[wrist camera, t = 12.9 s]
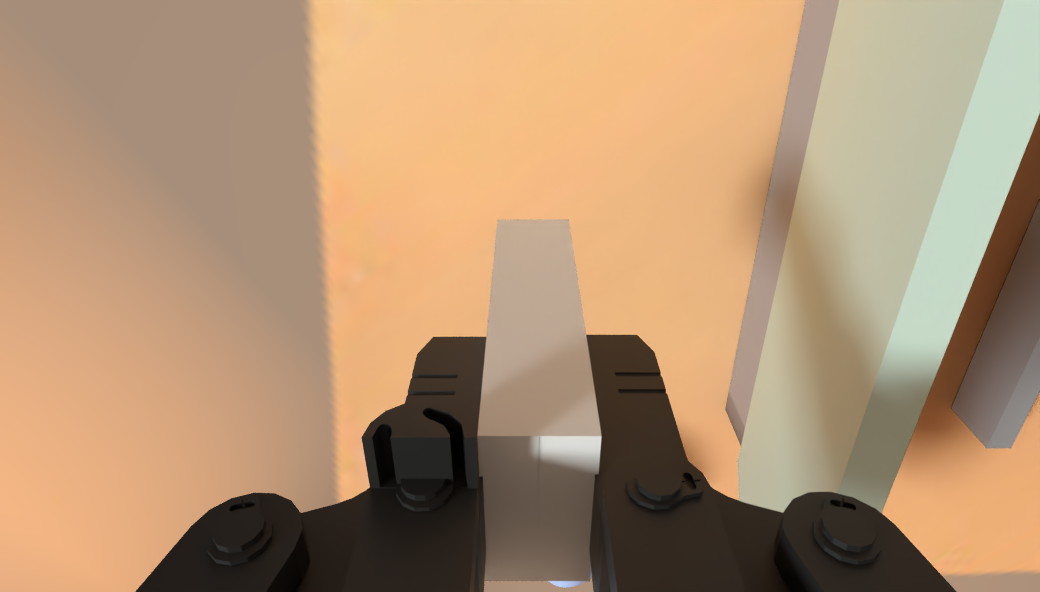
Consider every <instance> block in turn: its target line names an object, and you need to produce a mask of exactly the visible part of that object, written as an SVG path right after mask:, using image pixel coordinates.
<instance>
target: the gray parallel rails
mask: <svg viewBox="0 0 1040 592" xmlns="http://www.w3.org/2000/svg"><path fill="white" fill-rule="evenodd" d="M838 4H839V0H806V2H805V7H804V12H803V17H802V22H801V27H800V32H799V37H798V43H797V48H796V53H795V58H794V63H793V68H792V73H791V78H790V83H789V88H788V93H787V99H786V104H785V109H784V114H783V119H782V124H781V129H780V134H779V139H778V144H777V150H776V155H775V160H774V165H773V170H772V175H771V180H770V185H769V190H768V195H767V200H766V206H765V211H764V216H763V221H762V226H761V231H760V236H759V241H758V246H757V251H756V256H755V262H754V267H753V272H752V277H751V282H750V287H749V292H748V297H747V302H746V307H745V313H744V318H743V323H742V328H741V333H740V338H739V343H738V348H737V353H736V358H735V363H734V369H733V374H732V379H731V384H730V389H729V394H728V399H727V404H726V412H727V414H728V416H729V419H730V421H731V424H732V426H733V428H734V431H735V433H736V435H737V438H738V440H739V443H740V445H741V444H742V440H743V435H744V430H745V426H746V421H747V417H748V412H749V408H750V403H751V399H752V394H753V390H754V385H755V381H756V376H757V371H758V367H759V362H760V358H761V353H762V349H763V344H764V340H765V335H766V331H767V326H768V322H769V317H770V312H771V308H772V303H773V299H774V294H775V290H776V285H777V281H778V276H779V272H780V267H781V263H782V258H783V253H784V249H785V244H786V240H787V235H788V231H789V226H790V222H791V217H792V213H793V208H794V204H795V199H796V194H797V190H798V185H799V181H800V176H801V172H802V167H803V163H804V158H805V154H806V149H807V145H808V140H809V135H810V131H811V126H812V122H813V117H814V113H815V108H816V104H817V99H818V95H819V90H820V86H821V81H822V76H823V72H824V67H825V63H826V58H827V54H828V49H829V45H830V40H831V36H832V31H833V27H834V22H835V17H836V13H837V8H838ZM1039 392H1040V200H1039V202H1038V205H1037V207H1036V209H1035V212H1034V214H1033V217H1032V219H1031V221H1030V224H1029V226H1028V228H1027V231H1026V233H1025V235H1024V238H1023V240H1022V242H1021V245H1020V247H1019V250H1018V252H1017V254H1016V257H1015V259H1014V261H1013V264H1012V266H1011V268H1010V271H1009V273H1008V275H1007V278H1006V280H1005V283H1004V285H1003V287H1002V290H1001V292H1000V294H999V297H998V299H997V301H996V304H995V306H994V308H993V311H992V313H991V315H990V318H989V320H988V323H987V325H986V327H985V330H984V332H983V334H982V337H981V339H980V341H979V344H978V346H977V348H976V351H975V353H974V356H973V358H972V360H971V363H970V365H969V367H968V370H967V372H966V374H965V377H964V379H963V381H962V384H961V386H960V389H959V391H958V393H957V396H956V398H955V400H954V403H953V405H952V407H951V409H952V410H953V411H954V412H955V413H956V415H957V416H958V417H959V418H960V419H961V420H962V421H963V422H964V423H965V425H966V426H967V427H968V428H969V429H970V430H971V431H972V432H973V434H974V435H975V436H976V437H977V438H978V439H979V440H980V441H981V443H982V444H983V445H984V446H985V447H986V448H1011V447H1012V445H1013V443H1014V441H1015V439H1016V437H1017V435H1018V433H1019V431H1020V429H1021V427H1022V425H1023V423H1024V421H1025V420H1026V418H1027V416H1028V414H1029V412H1030V410H1031V408H1032V406H1033V404H1034V402H1035V400H1036V398H1037V396H1038V394H1039Z"/></svg>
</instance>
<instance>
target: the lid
mask: <svg viewBox="0 0 1040 592" xmlns="http://www.w3.org/2000/svg"><path fill="white" fill-rule="evenodd" d="M1039 114H1040V0H839V4H838V8H837V13H836V17H835V22H834V27H833V31H832V36H831V40H830V45H829V49H828V54H827V58H826V63H825V67H824V72H823V76H822V81H821V86H820V90H819V95H818V99H817V104H816V108H815V113H814V117H813V122H812V126H811V131H810V135H809V140H808V145H807V149H806V154H805V158H804V163H803V167H802V172H801V176H800V181H799V185H798V190H797V194H796V199H795V204H794V208H793V213H792V217H791V222H790V226H789V231H788V235H787V240H786V244H785V249H784V253H783V258H782V263H781V267H780V272H779V276H778V281H777V285H776V290H775V294H774V299H773V303H772V308H771V312H770V317H769V322H768V326H767V331H766V335H765V340H764V344H763V349H762V353H761V358H760V362H759V367H758V371H757V376H756V381H755V385H754V390H753V394H752V399H751V403H750V408H749V412H748V417H747V421H746V426H745V430H744V435H743V440H742V444H741V449H740V453H739V458H738V486H739V501H741V502H744V503H748V504H751V505H755V506H759V507H763V508H767V509H771V510H775V511H779V512H782V513H783V512H784V510H785V509H786V508H787V506H788V505H789V504H790V502H791V501H792V499H794V498H796V497H799V496H801V495H803V494H806V493H808V492H834V493H838V494H842V495H846V496H850V497H854V498H855V499H857V500H859V501H861V502H863V503H865V504H867V505H869V506H871V507H873V508H875V509H877V510H878V511H879V512H880V513H882V510H883V508H884V505H885V503H886V500H887V498H888V495H889V493H890V490H891V488H892V485H893V483H894V480H895V478H896V475H897V473H898V470H899V468H900V465H901V462H902V460H903V457H904V455H905V452H906V450H907V447H908V445H909V442H910V440H911V437H912V435H913V432H914V430H915V427H916V425H917V422H918V420H919V417H920V414H921V412H922V409H923V407H924V404H925V402H926V399H927V397H928V394H929V392H930V389H931V387H932V384H933V382H934V379H935V377H936V374H937V372H938V369H939V366H940V364H941V361H942V359H943V356H944V354H945V351H946V349H947V346H948V344H949V341H950V339H951V336H952V334H953V331H954V329H955V326H956V324H957V321H958V319H959V316H960V313H961V311H962V308H963V306H964V303H965V301H966V298H967V296H968V293H969V291H970V288H971V286H972V283H973V281H974V278H975V276H976V273H977V271H978V268H979V265H980V263H981V260H982V258H983V255H984V253H985V250H986V248H987V245H988V243H989V240H990V238H991V235H992V233H993V230H994V228H995V225H996V223H997V220H998V217H999V215H1000V212H1001V210H1002V207H1003V205H1004V202H1005V200H1006V197H1007V195H1008V192H1009V190H1010V187H1011V185H1012V182H1013V180H1014V177H1015V175H1016V172H1017V170H1018V167H1019V164H1020V162H1021V159H1022V157H1023V154H1024V152H1025V149H1026V147H1027V144H1028V142H1029V139H1030V137H1031V134H1032V132H1033V129H1034V127H1035V124H1036V122H1037V119H1038V116H1039Z"/></svg>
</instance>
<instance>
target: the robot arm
mask: <svg viewBox="0 0 1040 592" xmlns="http://www.w3.org/2000/svg"><path fill="white" fill-rule="evenodd" d="M660 373H661V372H660V369H659V366H658V363H657V359H656V356H655V353H654V351H653V350H652V349H651V348H650V347H649V346H648V345H647V344H646V343H645V342H644V341H643V340H642V339H641V338H640V337H639V336H638V335H586V330H585V324H584V317H583V310H582V304H581V297H580V291H579V284H578V278H577V271H576V264H575V258H574V251H573V245H572V238H571V231H570V225H569V220H497V229H496V240H495V251H494V261H493V272H492V283H491V294H490V305H489V315H488V326H487V337H433V338H432V339H431V340H430V341H429V342H428V343H427V344H426V346H425V347H424V348H423V349H422V350H421V351H420V352H419V353H418V354H417V358H416V361H415V365H414V369H413V373H412V378H411V381H410V385H409V389H408V395H407V397H406V401H405V404H403V405H400V406H398V407H395V408H392V409H390V410H387V411H385V412H384V413H383V414H381V415H380V416H379V417H378V418H376V419H375V420H374V421H372V422H371V423H370V425H369V426H368V428H367V430H366V431H365V433H364V435H363V436H362V442H363V448H364V454H365V460H366V466H367V472H368V478H369V483H370V488H369V489H367V490H366V491H364V492H362V493H361V494H359V495H357V496H355V497H354V498H352V499H349V500H346V501H343V502H340V503H338V504H335V505H331V506H327V507H323V508H319V509H315V510H311V511H308V512H304V513H300V512H299V510H298V509H297V508H296V506H295V505H294V504H293V502H292V501H291V500H289V499H286V498H284V497H282V496H279V495H277V494H273V493H271V494H270V493H251V494H248V495H243V496H239V497H235V498H231V499H229V500H227V501H226V502H224V503H222V504H220V505H218V506H216V507H214V508H212V509H210V510H209V511H208V512H207V513H206V514H204V515H203V516H202V517H201V518H200V519H199V520H198V521H197V522H195V523H194V524H193V525H192V526H191V527H190V528H189V530H188V531H187V532H186V533H185V534H184V535H183V537H182V538H181V539H180V540H179V541H178V543H177V544H176V545H175V546H174V547H173V548H172V549H171V551H170V552H169V553H168V554H167V555H166V556H165V558H164V559H163V560H162V561H161V562H160V564H159V565H158V566H157V567H156V568H155V569H154V571H153V572H152V573H151V574H150V575H149V576H148V578H147V579H146V580H145V581H144V582H143V583H142V585H141V586H140V587H139V588H138V589H137V590H136V592H484V581H590V573H591V571H592V581H593V590H594V592H956V591H955V590H954V588H953V587H952V586H951V585H950V584H949V583H948V582H947V581H946V580H945V579H944V578H943V577H942V575H941V574H940V573H939V572H938V571H937V570H936V569H935V568H934V567H933V566H932V565H931V563H930V562H929V561H928V560H927V559H926V558H925V557H924V556H923V555H922V554H921V553H920V551H919V550H918V549H917V548H916V547H915V546H914V545H913V544H912V543H911V542H910V541H909V539H908V538H907V537H906V536H905V535H904V534H903V533H902V532H901V531H900V530H899V529H898V528H897V526H896V525H895V524H893V523H892V522H891V521H890V520H889V519H887V518H886V517H885V516H884V515H883V514H881V513H880V512H879V511H878V510H877V509H875V508H873V507H871V506H869V505H867V504H865V503H863V502H861V501H859V500H857V499H855V498H854V497H850V496H846V495H842V494H838V493H834V492H808V493H806V494H803V495H801V496H799V497H796V498H794V499H792V501H791V502H790V504H789V505H788V506H787V508H786V509H785V510H784V512H783V513H782V512H779V511H775V510H771V509H767V508H763V507H759V506H755V505H751V504H748V503H744V502H741V501H738V500H735V499H733V498H730V497H727V496H725V495H724V494H722V493H720V492H718V491H716V490H714V489H713V488H712V487H710V485H709V483H708V482H707V480H706V478H705V477H704V475H703V473H702V472H701V471H699V470H698V469H697V468H696V467H694V466H693V465H692V464H691V463H690V462H689V461H688V459H687V457H686V454H685V451H684V448H683V444H682V441H681V438H680V434H679V431H678V428H677V425H676V421H675V418H674V415H673V412H672V408H671V405H670V402H669V399H668V395H667V394H666V389H665V385H664V382H663V379H662V376H661V375H660Z"/></svg>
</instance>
